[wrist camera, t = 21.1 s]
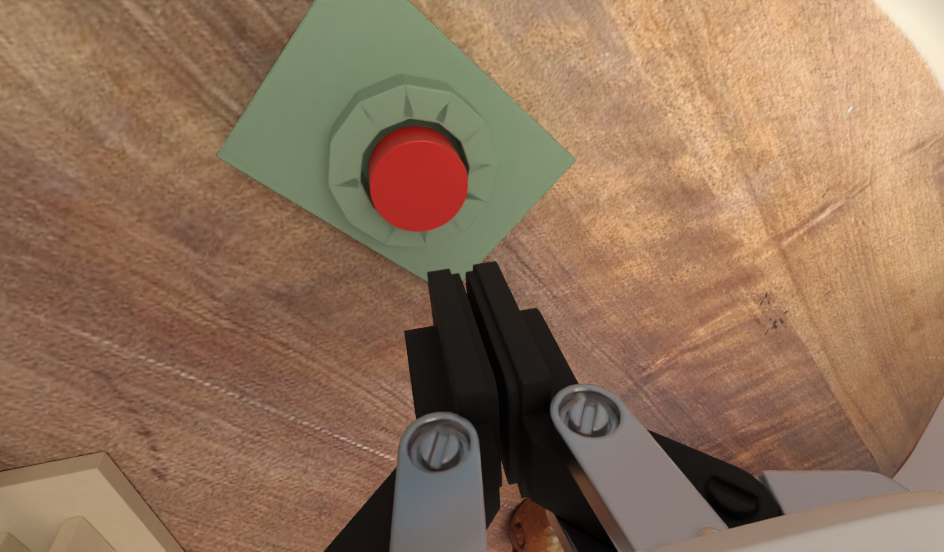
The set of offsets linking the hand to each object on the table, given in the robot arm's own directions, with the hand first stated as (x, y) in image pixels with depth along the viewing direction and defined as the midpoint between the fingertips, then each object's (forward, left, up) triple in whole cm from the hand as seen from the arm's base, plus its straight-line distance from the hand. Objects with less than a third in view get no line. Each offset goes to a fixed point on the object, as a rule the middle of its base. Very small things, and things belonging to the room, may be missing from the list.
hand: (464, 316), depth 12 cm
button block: (0, 0, -13) cm, 13 cm away
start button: (0, 0, -9) cm, 9 cm away
